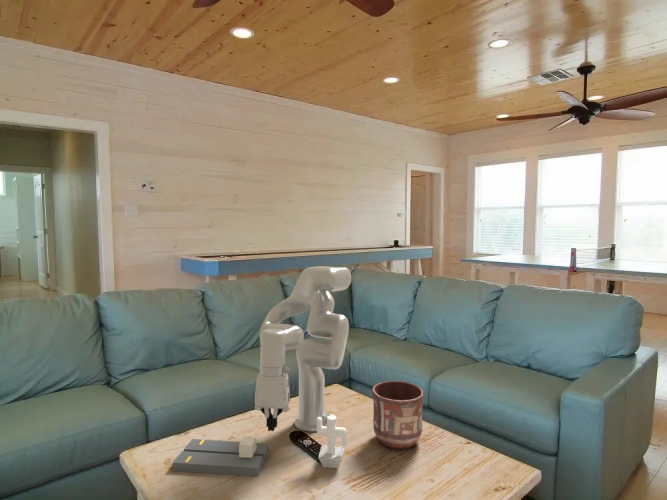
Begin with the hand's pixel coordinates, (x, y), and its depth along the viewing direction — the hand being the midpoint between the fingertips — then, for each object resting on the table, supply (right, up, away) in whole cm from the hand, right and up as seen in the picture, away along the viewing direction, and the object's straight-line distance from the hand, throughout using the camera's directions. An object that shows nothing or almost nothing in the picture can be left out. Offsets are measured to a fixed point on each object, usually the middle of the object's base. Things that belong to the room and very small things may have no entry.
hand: (271, 429), depth 128 cm
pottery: (+41, -11, +16) cm, 45 cm away
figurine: (+18, -12, +2) cm, 22 cm away
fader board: (-16, -11, +3) cm, 19 cm away
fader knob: (-8, -9, +2) cm, 12 cm away
